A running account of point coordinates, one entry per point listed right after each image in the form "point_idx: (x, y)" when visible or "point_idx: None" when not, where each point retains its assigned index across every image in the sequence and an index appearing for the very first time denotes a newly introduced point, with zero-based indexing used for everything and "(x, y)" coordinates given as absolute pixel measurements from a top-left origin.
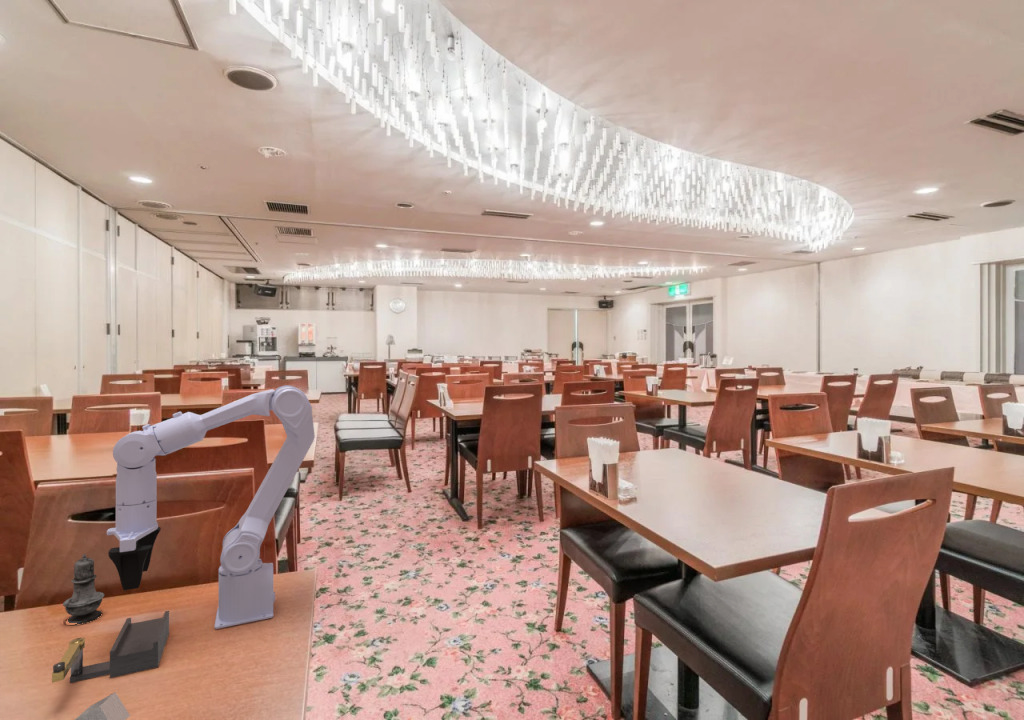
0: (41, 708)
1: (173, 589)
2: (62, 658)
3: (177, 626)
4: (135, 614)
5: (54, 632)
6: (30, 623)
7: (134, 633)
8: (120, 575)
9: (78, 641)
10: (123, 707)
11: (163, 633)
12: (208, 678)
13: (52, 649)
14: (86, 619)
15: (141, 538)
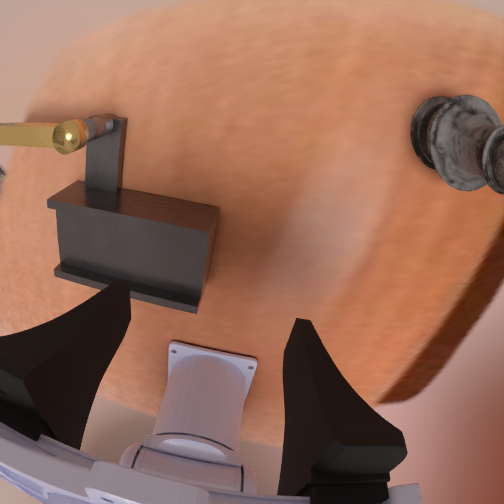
0: (42, 91)
1: (446, 306)
2: (5, 128)
3: (234, 296)
4: (376, 232)
5: (406, 70)
6: (488, 44)
7: (144, 237)
8: (77, 309)
9: (59, 142)
10: None
11: None
12: (33, 298)
13: (299, 60)
14: (419, 136)
15: (299, 463)
